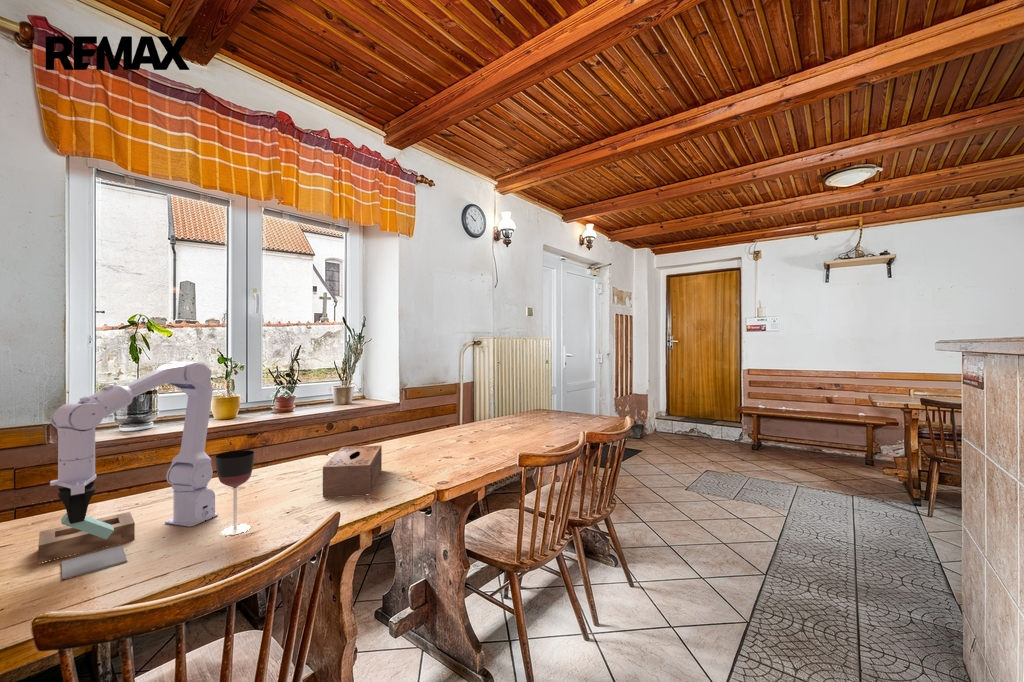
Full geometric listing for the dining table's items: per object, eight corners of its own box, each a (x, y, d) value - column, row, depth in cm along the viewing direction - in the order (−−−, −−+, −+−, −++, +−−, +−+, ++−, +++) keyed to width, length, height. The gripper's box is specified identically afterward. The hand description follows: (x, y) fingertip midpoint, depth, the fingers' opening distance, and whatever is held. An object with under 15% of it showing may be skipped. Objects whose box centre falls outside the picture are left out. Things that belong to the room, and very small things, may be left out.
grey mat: (122, 547, 101) (122, 545, 101) (127, 561, 94) (127, 560, 94) (61, 563, 94) (61, 561, 94) (61, 580, 87) (61, 578, 87)
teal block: (105, 533, 97) (112, 525, 98) (106, 539, 95) (114, 530, 96) (61, 518, 92) (69, 509, 93) (61, 523, 89) (69, 514, 90)
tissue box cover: (342, 473, 159) (342, 446, 159) (381, 471, 161) (381, 445, 161) (322, 498, 133) (322, 467, 133) (369, 495, 136) (369, 465, 136)
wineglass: (226, 523, 114) (226, 450, 114) (260, 522, 115) (260, 449, 115) (208, 537, 106) (208, 458, 106) (244, 536, 107) (244, 458, 107)
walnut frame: (129, 527, 112) (129, 511, 112) (134, 539, 105) (134, 522, 105) (39, 549, 100) (39, 531, 100) (38, 564, 93) (38, 545, 93)
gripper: (50, 455, 95) (50, 515, 95) (49, 468, 85) (49, 535, 85) (94, 449, 100) (94, 506, 100) (98, 461, 90) (98, 524, 90)
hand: (76, 519), depth 93 cm, fingers closed on teal block, 4 cm apart
